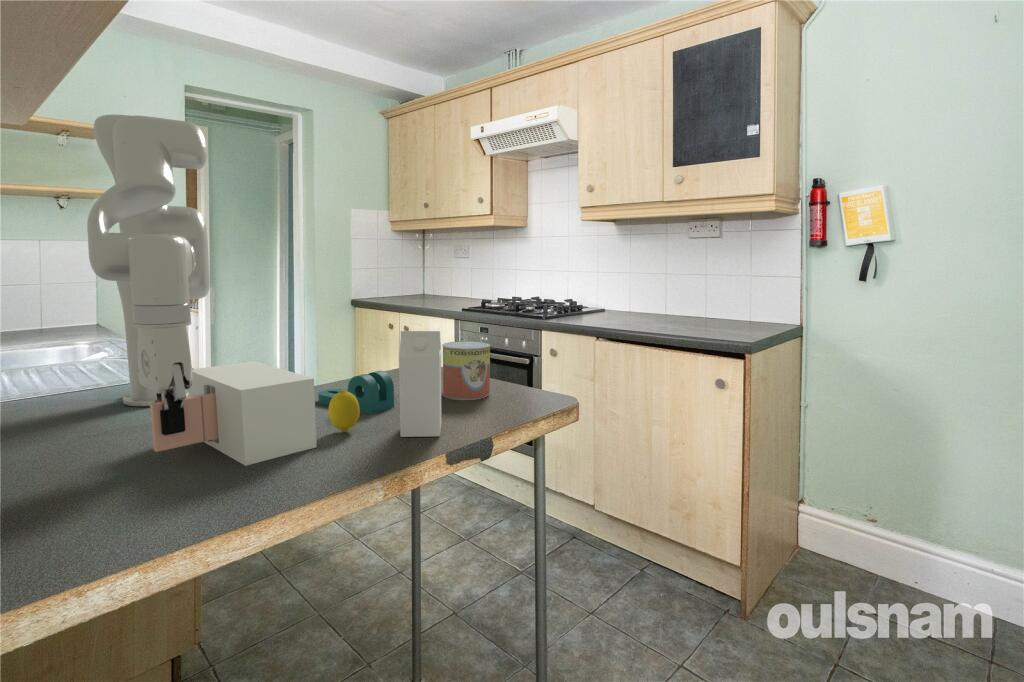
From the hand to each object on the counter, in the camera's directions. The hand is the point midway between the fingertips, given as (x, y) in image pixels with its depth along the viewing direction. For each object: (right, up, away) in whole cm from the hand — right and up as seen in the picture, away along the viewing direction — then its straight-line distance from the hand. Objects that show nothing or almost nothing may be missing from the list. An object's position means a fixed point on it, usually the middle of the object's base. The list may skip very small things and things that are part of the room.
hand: (171, 431), depth 89 cm
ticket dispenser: (+8, -3, +10) cm, 13 cm away
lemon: (+23, -3, +16) cm, 28 cm away
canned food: (+43, +1, +46) cm, 63 cm away
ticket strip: (+4, -2, +5) cm, 7 cm away
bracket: (+19, 0, +35) cm, 40 cm away
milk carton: (+37, -3, +17) cm, 41 cm away
